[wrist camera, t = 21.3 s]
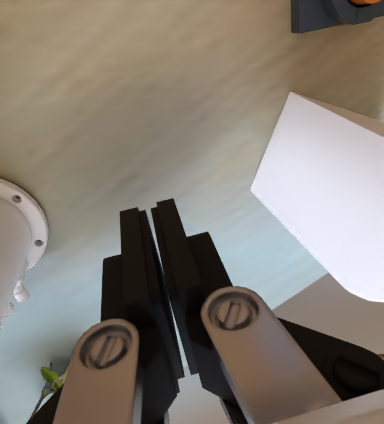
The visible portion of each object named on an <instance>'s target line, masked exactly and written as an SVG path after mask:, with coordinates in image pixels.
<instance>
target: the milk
mask: <svg viewBox="0 0 384 424" xmlns="http://www.w3.org/2000/svg"><path fill="white" fill-rule="evenodd" d="M250 191H251V192H252V193H253V194H254V195H255V196H256V197H257V198H258V199H259V200H260V201H261V202H262V203H263V204H264V205H265V206H266V207H267V208H268V209H269V210H270V211H271V212H272V213H273V214H274V216H275V217H276V218H277V219H278V220H279V221H280V222H281V223H282V224H283V225H284V226H285V227H286V228H287V229H288V230H289V231H290V232H291V233H292V234H293V235H294V236H295V237H296V238H297V239H298V241H299V242H300V243H301V244H302V245H303V246H304V247H305V248H306V249H307V250H308V251H309V252H310V253H311V254H312V255H313V256H314V257H315V258H316V259H317V260H318V261H319V262H320V263H321V264H322V266H323V267H324V268H325V269H326V270H327V271H328V272H329V273H330V274H331V275H332V276H333V277H334V278H335V279H336V280H337V281H338V282H339V283H340V284H341V285H342V286H343V287H344V288H345V289H346V290H347V291H349V292H350V293H352V294H354V295H357V296H359V297H361V298H364V299H366V300H369V301H377V302H384V122H382V121H380V120H377V119H374V118H371V117H368V116H365V115H362V114H359V113H356V112H353V111H350V110H346V109H343V108H340V107H337V106H334V105H331V104H328V103H325V102H322V101H319V100H316V99H312V98H309V97H306V96H303V95H300V94H297V93H294V92H291V91H290V93H289V95H288V97H287V100H286V102H285V105H284V107H283V110H282V112H281V115H280V117H279V119H278V122H277V124H276V127H275V129H274V132H273V134H272V137H271V139H270V142H269V144H268V146H267V149H266V151H265V154H264V156H263V159H262V161H261V164H260V166H259V169H258V171H257V173H256V176H255V178H254V181H253V183H252V186H251V188H250Z"/></svg>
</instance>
